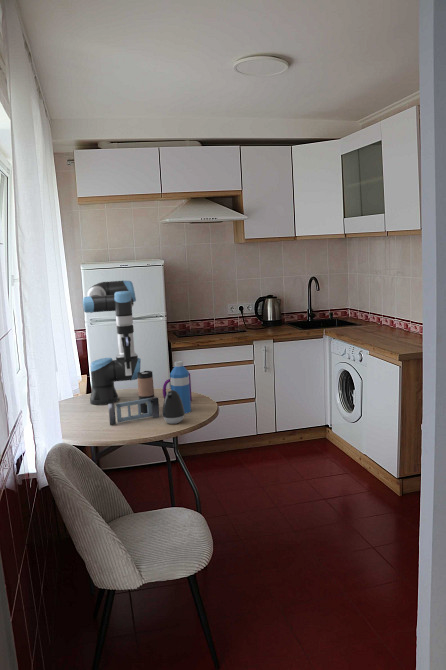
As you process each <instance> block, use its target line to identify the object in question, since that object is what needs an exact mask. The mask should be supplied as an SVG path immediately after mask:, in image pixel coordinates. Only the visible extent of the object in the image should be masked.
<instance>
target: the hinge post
mask: <svg viewBox="0 0 446 670" xmlns="http://www.w3.org/2000/svg"><path fill="white" fill-rule="evenodd" d="M107 405H108V418H109V425H110V426H116V425H117V416H116V409H115V408H116V404H115V403H109V404H107Z"/></svg>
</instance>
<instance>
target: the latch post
mask: <svg viewBox="0 0 446 670" xmlns="http://www.w3.org/2000/svg"><path fill="white" fill-rule="evenodd" d="M150 398H151V407H152V417H151V418H153V419H158V418H160V403H159V399H160V398H159V397H158V396H154V397H150ZM146 405H147V403H146Z"/></svg>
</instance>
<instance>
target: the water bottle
mask: <svg viewBox="0 0 446 670" xmlns="http://www.w3.org/2000/svg"><path fill="white" fill-rule="evenodd" d="M189 373H190V372H189V371H188V369H187V368H186V366H184V362H183V361H182V360H181V361H179V360H177V361H174V367H173V368H172V370H171V372H169V379H170V382H169V383H170V391H171V390H174V391H176V392H177V393H178V394H179V396H180V398H181V400H182V403H183V407H184V412H185V414H190V413H191V411H192V406H191V405H192V401H190V384H189ZM189 412H190V413H189ZM185 414H184V415H185Z"/></svg>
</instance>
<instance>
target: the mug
mask: <svg viewBox="0 0 446 670" xmlns="http://www.w3.org/2000/svg"><path fill="white" fill-rule="evenodd" d="M169 383H171V382H170V378H169V379H166V380H165V381H164V383H163V386H162V395H163V398H164V399H165V396H166V394H167V387H168V386H167V385H168V384H169ZM189 384H190V401H191V402H192V401H193V400H192V399H193V397H192V383H191V372H189Z"/></svg>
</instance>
